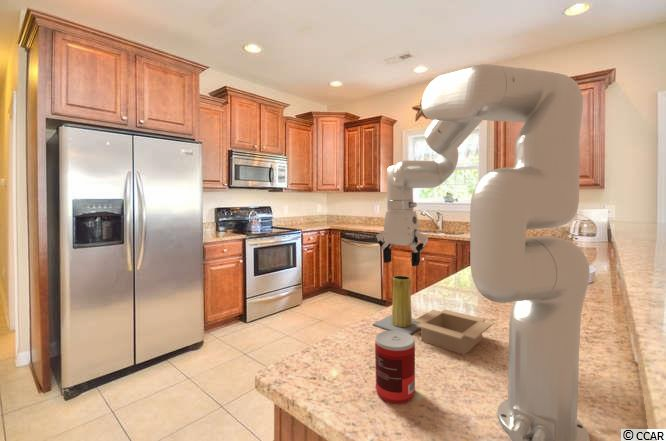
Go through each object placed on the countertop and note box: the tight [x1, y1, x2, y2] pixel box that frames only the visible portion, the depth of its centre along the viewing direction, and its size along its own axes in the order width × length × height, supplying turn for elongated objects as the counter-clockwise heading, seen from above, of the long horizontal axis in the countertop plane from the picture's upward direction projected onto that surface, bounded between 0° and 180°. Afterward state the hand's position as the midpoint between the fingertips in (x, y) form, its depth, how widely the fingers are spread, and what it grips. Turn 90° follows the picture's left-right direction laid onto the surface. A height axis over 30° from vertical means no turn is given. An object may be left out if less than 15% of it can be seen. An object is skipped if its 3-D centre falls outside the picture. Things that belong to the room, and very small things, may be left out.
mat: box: [372, 314, 421, 336], centre depth 97 cm, size 12×12×1 cm
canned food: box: [374, 330, 416, 405], centre depth 63 cm, size 8×8×11 cm
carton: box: [413, 309, 493, 356], centre depth 85 cm, size 17×17×5 cm
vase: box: [391, 274, 413, 327], centre depth 96 cm, size 6×6×14 cm
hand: (401, 263), depth 95 cm, fingers open, 9 cm apart
